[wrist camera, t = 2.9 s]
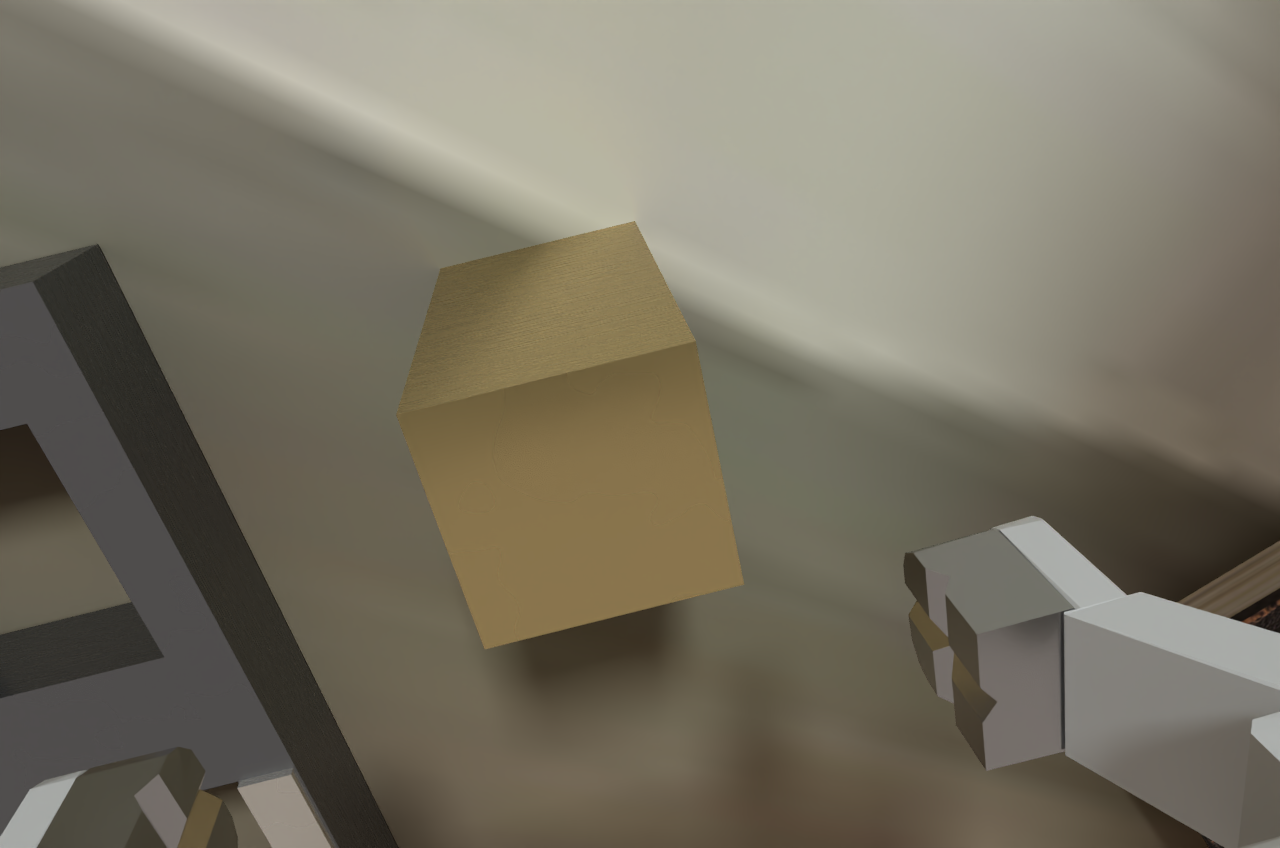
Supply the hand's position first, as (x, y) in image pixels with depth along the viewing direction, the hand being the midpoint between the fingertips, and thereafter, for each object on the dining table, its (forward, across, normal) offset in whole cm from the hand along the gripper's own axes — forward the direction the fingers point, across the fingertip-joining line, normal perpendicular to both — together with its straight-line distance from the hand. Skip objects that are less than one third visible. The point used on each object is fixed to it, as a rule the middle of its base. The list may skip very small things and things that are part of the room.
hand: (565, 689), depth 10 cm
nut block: (+10, -1, -1) cm, 10 cm away
